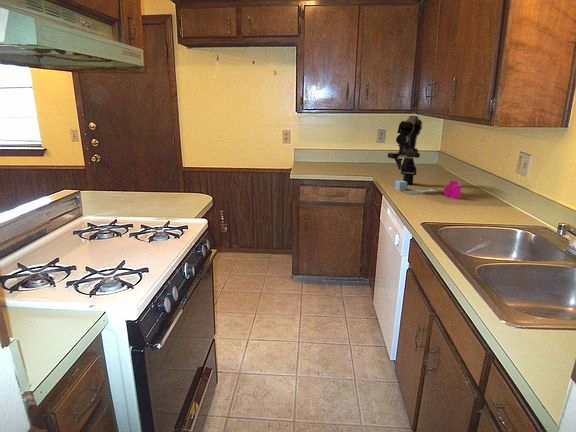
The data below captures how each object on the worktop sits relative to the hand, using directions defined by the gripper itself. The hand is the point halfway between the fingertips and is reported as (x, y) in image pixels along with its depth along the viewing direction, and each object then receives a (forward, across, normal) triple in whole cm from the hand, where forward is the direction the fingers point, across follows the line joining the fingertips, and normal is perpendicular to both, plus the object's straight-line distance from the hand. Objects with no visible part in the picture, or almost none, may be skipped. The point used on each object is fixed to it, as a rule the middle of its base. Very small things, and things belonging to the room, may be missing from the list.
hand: (402, 169), depth 233 cm
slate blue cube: (+12, 0, 0) cm, 12 cm away
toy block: (+12, +19, -22) cm, 32 cm away
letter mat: (+12, +8, -9) cm, 17 cm away
